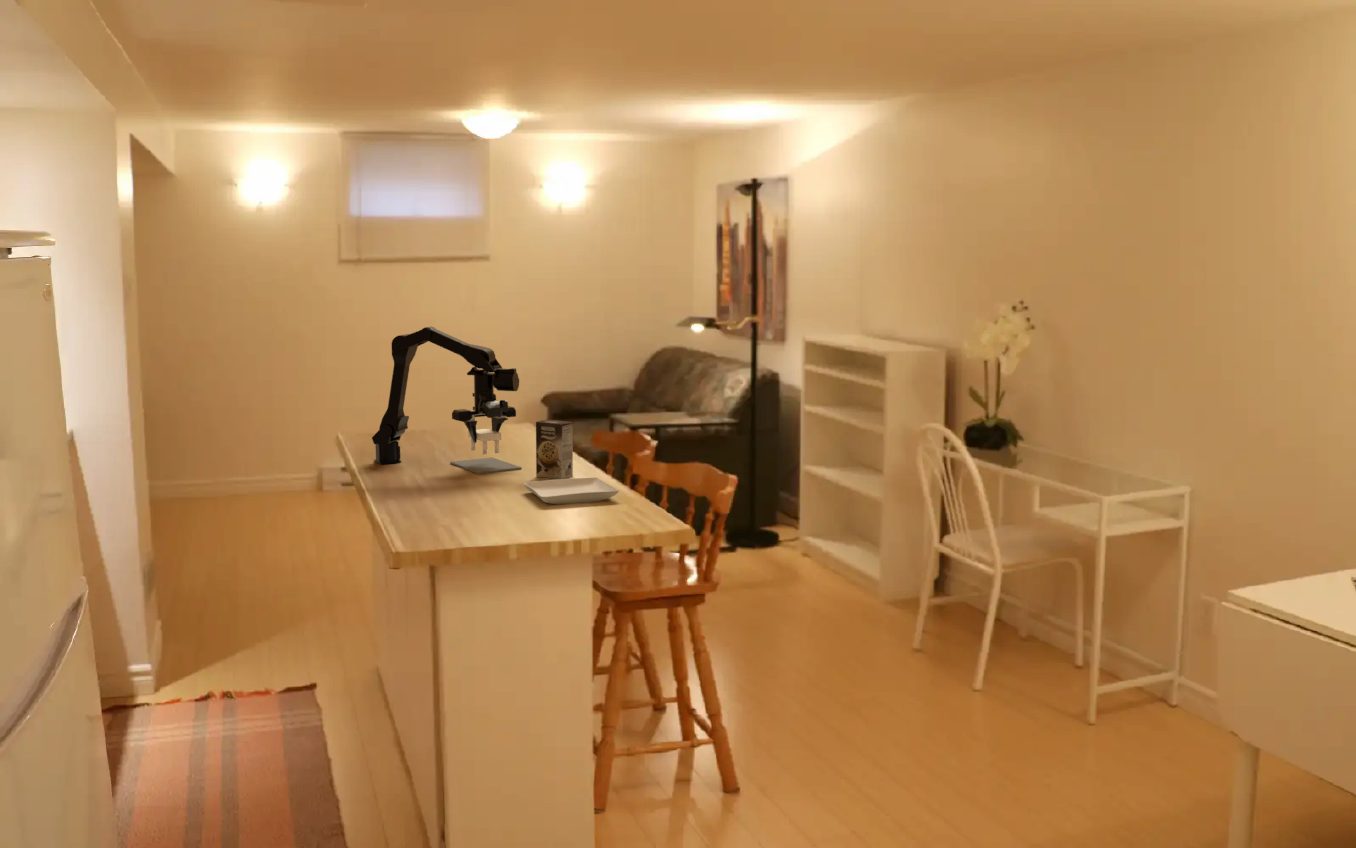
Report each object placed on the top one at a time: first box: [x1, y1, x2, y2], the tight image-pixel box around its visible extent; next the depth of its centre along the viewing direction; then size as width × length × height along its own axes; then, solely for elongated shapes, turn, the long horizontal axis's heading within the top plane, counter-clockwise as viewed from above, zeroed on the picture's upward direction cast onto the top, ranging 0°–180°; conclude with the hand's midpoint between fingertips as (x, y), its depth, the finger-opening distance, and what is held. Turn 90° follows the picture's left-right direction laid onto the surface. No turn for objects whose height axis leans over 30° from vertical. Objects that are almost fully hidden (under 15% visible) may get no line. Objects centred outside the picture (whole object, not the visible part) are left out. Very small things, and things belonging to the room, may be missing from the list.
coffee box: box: [535, 419, 574, 480], centre depth 345 cm, size 9×6×16 cm
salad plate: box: [523, 476, 620, 505], centre depth 318 cm, size 21×21×3 cm
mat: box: [449, 457, 522, 475], centre depth 361 cm, size 14×20×1 cm
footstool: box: [467, 428, 502, 455], centre depth 360 cm, size 10×6×6 cm, turn 35°
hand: (484, 441), depth 360 cm, fingers closed on footstool, 6 cm apart
